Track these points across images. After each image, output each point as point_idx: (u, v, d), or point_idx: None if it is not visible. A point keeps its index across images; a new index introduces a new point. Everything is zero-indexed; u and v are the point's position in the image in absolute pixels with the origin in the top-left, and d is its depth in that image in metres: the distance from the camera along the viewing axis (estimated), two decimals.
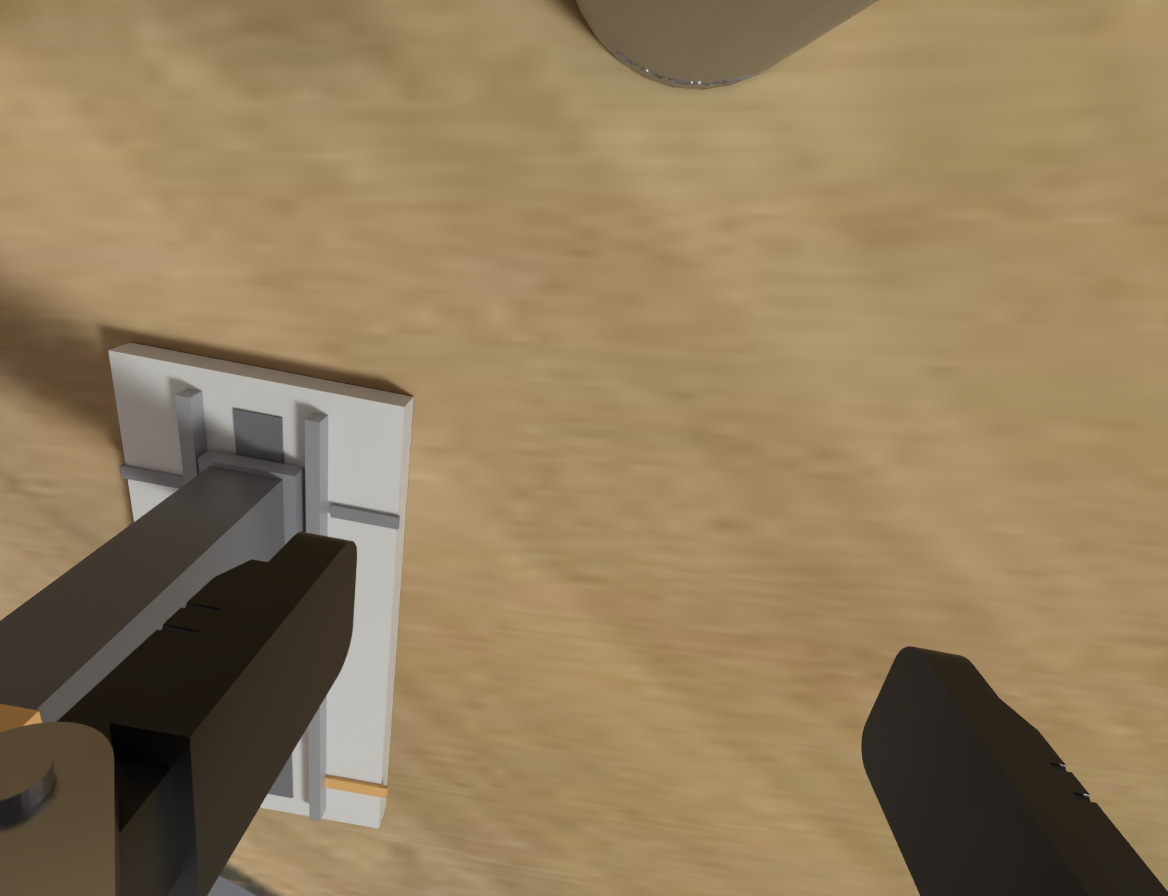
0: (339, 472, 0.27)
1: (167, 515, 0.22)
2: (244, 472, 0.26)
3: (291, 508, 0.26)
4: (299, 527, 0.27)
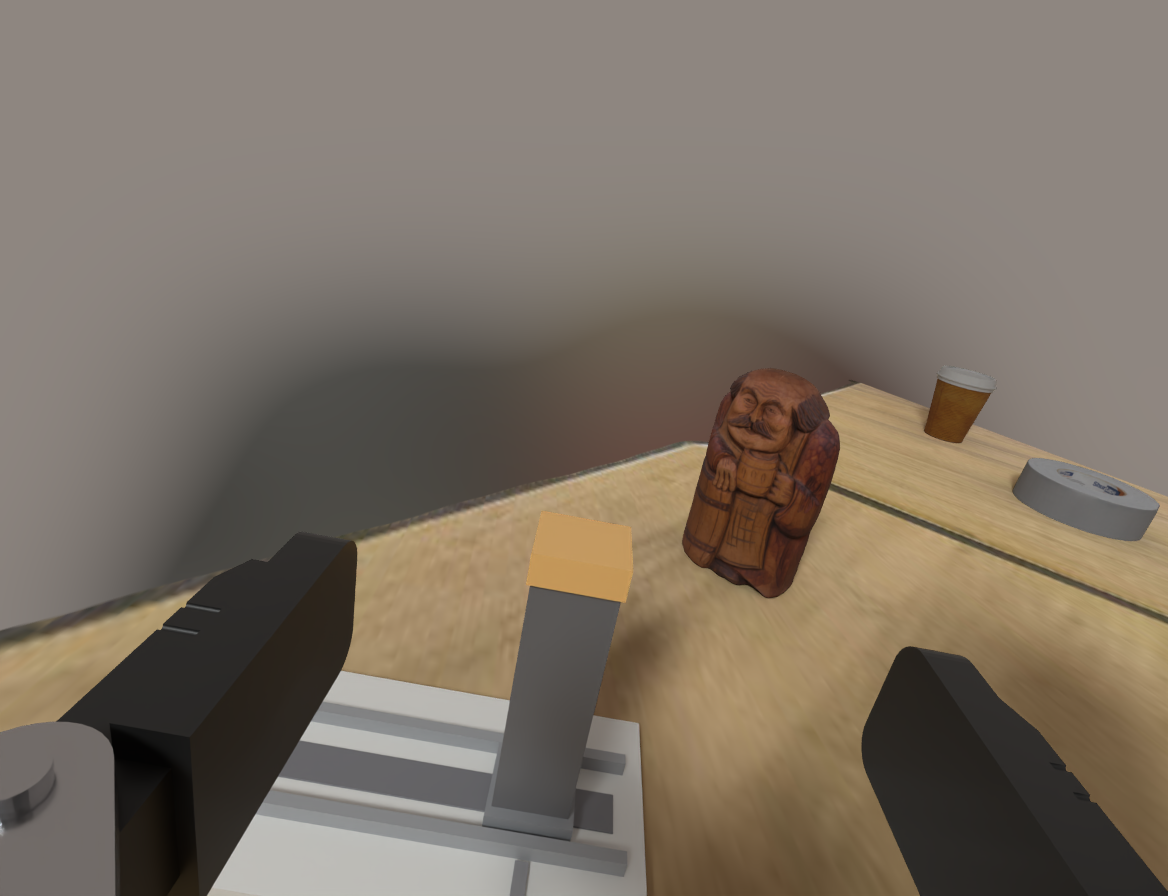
0: (564, 878, 0.27)
1: None
2: None
3: (538, 821, 0.28)
4: (510, 825, 0.28)
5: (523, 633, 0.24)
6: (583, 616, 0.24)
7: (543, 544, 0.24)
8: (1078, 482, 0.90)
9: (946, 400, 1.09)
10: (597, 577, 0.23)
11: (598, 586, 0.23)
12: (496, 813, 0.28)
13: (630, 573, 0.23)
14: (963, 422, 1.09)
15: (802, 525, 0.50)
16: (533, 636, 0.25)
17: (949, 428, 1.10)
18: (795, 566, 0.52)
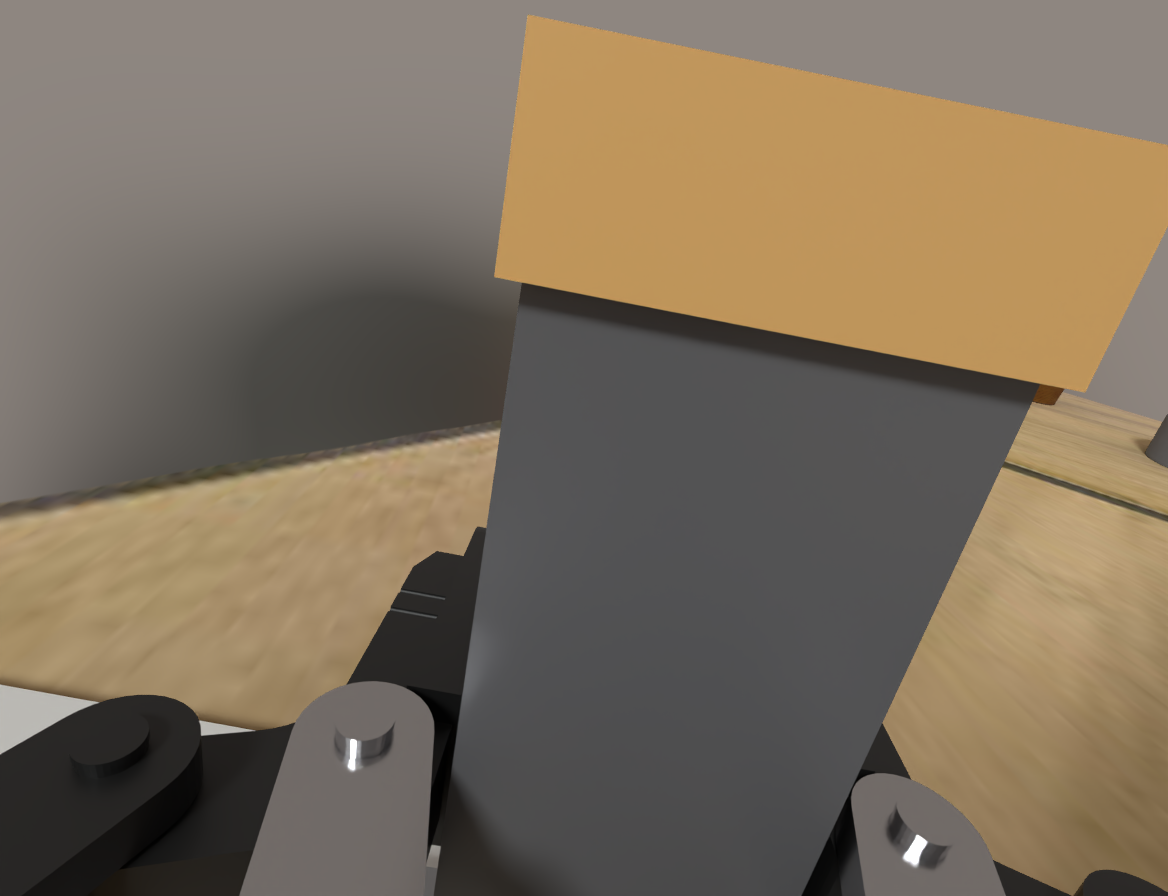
0: None
1: None
2: None
3: None
4: None
5: (486, 584, 0.05)
6: (803, 492, 0.05)
7: None
8: None
9: None
10: (949, 209, 0.04)
11: (939, 276, 0.04)
12: None
13: None
14: None
15: None
16: (533, 601, 0.05)
17: (1042, 386, 0.90)
18: None
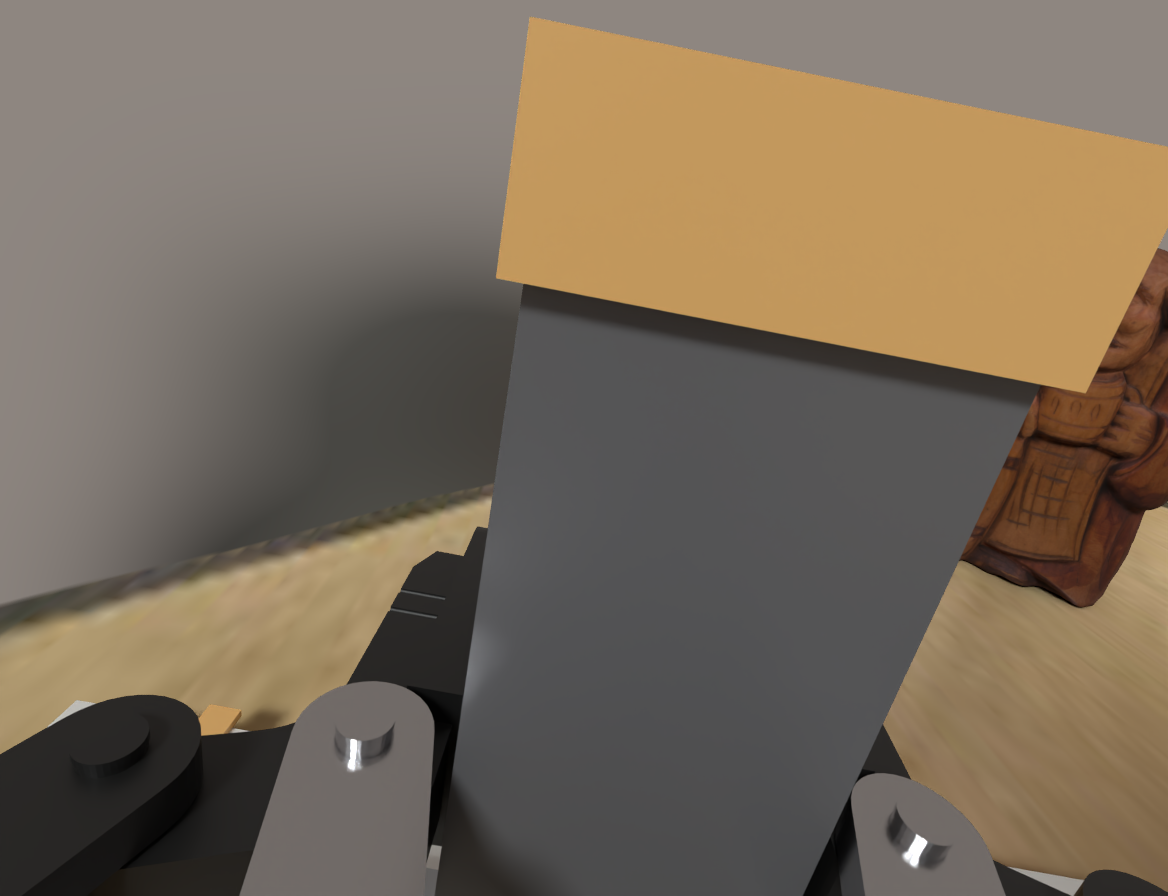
0: None
1: None
2: None
3: None
4: None
5: (488, 585, 0.05)
6: (804, 493, 0.05)
7: None
8: None
9: None
10: (950, 210, 0.04)
11: (942, 277, 0.04)
12: None
13: None
14: None
15: (1166, 489, 0.30)
16: (534, 602, 0.05)
17: None
18: (1125, 557, 0.33)
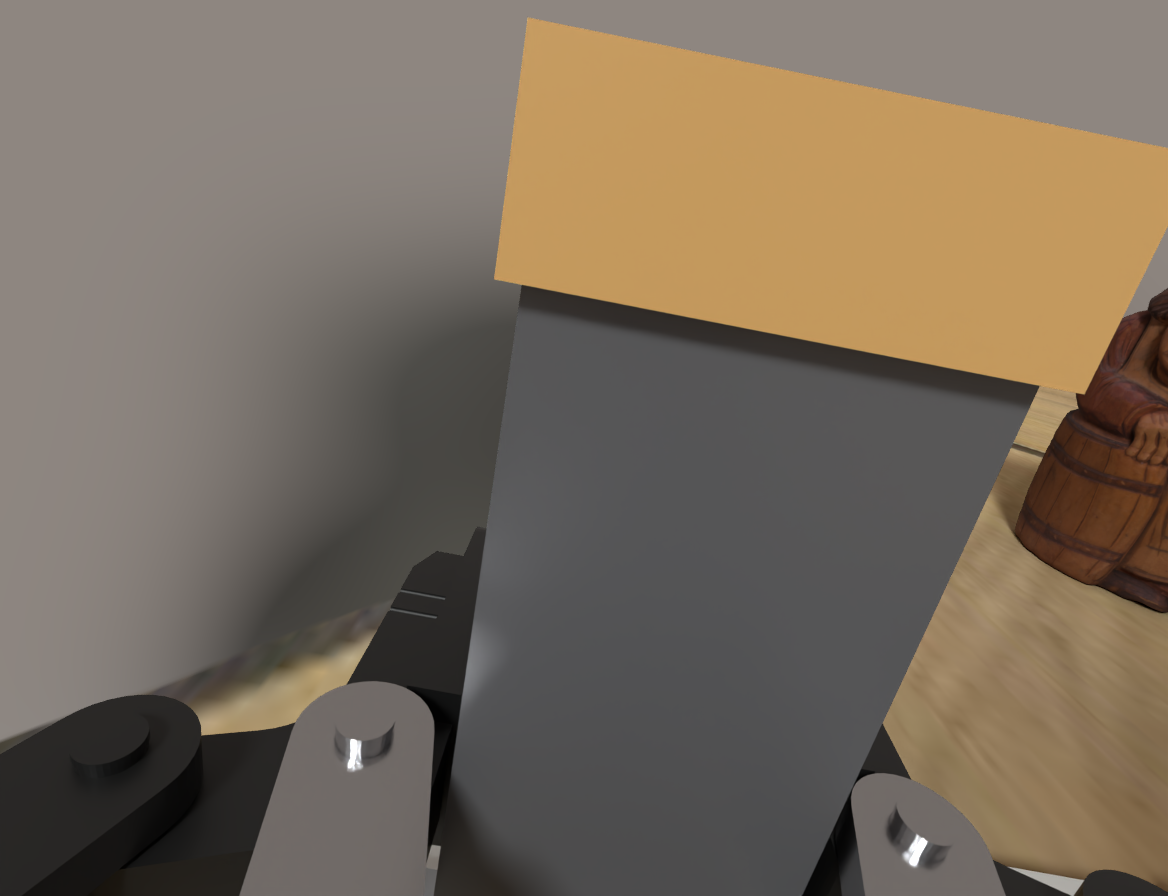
0: None
1: None
2: None
3: None
4: None
5: (486, 586, 0.05)
6: (804, 494, 0.05)
7: None
8: None
9: None
10: (948, 211, 0.04)
11: (939, 280, 0.04)
12: None
13: None
14: None
15: None
16: (533, 602, 0.05)
17: None
18: None
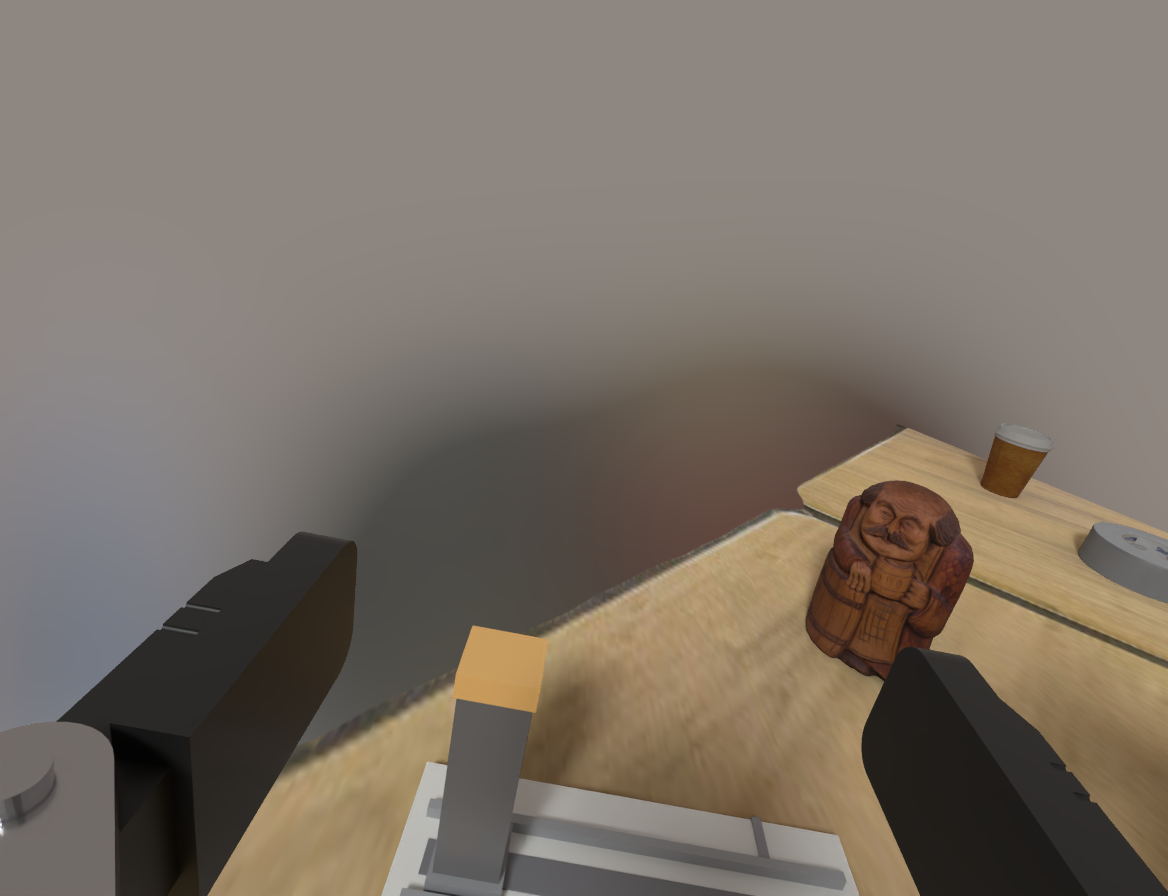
0: None
1: None
2: None
3: (471, 886, 0.32)
4: (448, 889, 0.32)
5: (453, 734, 0.29)
6: (502, 722, 0.29)
7: (468, 663, 0.28)
8: (1141, 547, 0.95)
9: (1004, 458, 1.14)
10: (511, 693, 0.28)
11: (512, 699, 0.28)
12: (435, 879, 0.32)
13: (538, 690, 0.28)
14: (1021, 479, 1.14)
15: (935, 628, 0.55)
16: (461, 737, 0.29)
17: (1007, 484, 1.15)
18: None
